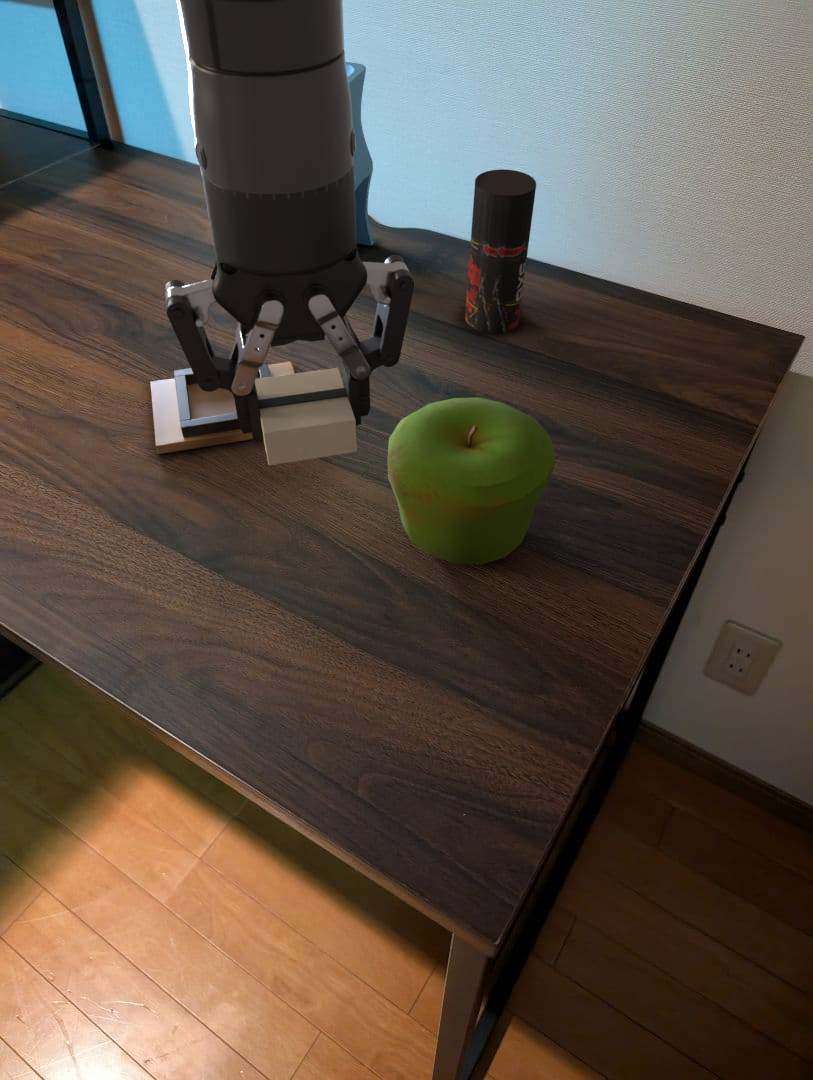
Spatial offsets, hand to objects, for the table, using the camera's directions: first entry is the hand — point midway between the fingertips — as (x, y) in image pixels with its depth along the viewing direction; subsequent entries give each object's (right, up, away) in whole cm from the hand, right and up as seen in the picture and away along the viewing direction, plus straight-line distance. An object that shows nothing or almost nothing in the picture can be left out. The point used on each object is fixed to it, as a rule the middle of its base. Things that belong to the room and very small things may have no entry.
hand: (304, 424), depth 51 cm
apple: (+11, -7, +15) cm, 20 cm away
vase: (-2, +28, +47) cm, 55 cm away
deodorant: (+16, +17, +37) cm, 44 cm away
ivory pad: (0, 0, 0) cm, 0 cm away
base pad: (-11, +5, +26) cm, 28 cm away
